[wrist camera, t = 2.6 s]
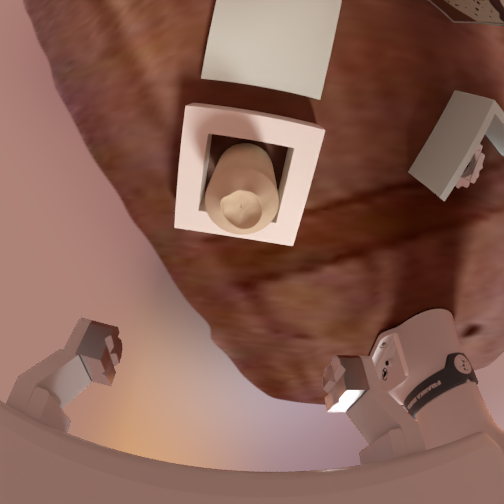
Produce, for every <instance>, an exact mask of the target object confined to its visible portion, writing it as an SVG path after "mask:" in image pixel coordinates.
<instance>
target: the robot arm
mask: <svg viewBox="0 0 504 504" xmlns="http://www.w3.org/2000/svg"><path fill="white" fill-rule="evenodd" d="M118 335H119V330H118V327H115V326H111V325H108V324H104V323H100V322H96V321H93V320H89V319H86V318H81V319H79V320H78V322H77V324H76V326H75V328H74V330H73V332H72V334H71V335H70V338H69V339H68V342H67V343H66V345H65V348H64V350H63V349H59V350H58V351H56V352H55V353H53V354H52V355H50V356H49V357H47V358H46V359H44V360H42V361H41V362H39V363H38V364H36V365H35V366H33V367H32V368H30V369H29V370H27V371H26V372H24V373H23V374H21V375H20V376H18V378H17V380H16V382H15V384H14V387H13V389H12V391H11V393H10V396H9V398H8V400H7V403H6V404H5V403H4V402H2V401H0V504H504V431H503V430H502V429H501V428H500V427H499V426H498V425H497V424H496V423H495V421H494V419H493V418H492V416H491V414H490V412H489V410H488V408H487V406H486V404H485V402H484V400H483V398H482V395H481V393H480V391H479V389H478V386H477V384H478V380H477V378H476V375H475V373H474V370H473V368H472V366H471V364H470V362H469V360H468V359H467V357H466V356H465V355H464V353H463V350H462V347H461V345H460V342H459V339H458V336H457V332H456V329H455V324H454V320H453V315H452V314H451V312H449V311H448V310H445V309H432V310H428V311H425V312H422V313H420V314H417V315H415V316H414V317H412V318H410V319H408V320H407V321H405V322H404V323H402V324H401V325H399V326H398V327H396V328H393V329H390V330H387V331H385V332H383V333H381V334H380V335H379V336H378V338H377V340H376V342H375V345H374V347H373V349H372V351H371V353H370V356H348V355H336V356H334V357H333V358H332V360H331V363H332V364H331V365H330V366H328V367H327V368H326V369H325V371H324V374H323V382H322V383H323V389H324V390H325V391H326V392H327V393H328V394H327V395H326V397H325V402H326V408H327V412H346V414H347V415H348V417H349V418H350V419H351V421H352V422H353V423H354V425H355V426H356V427H357V428H358V430H359V431H360V433H361V434H362V435H363V437H364V438H365V439H366V441H367V442H368V443H369V446H367V447H366V448H364V449H363V450H361V452H360V453H359V455H360V462H361V465H358V466H351V467H343V468H335V469H326V470H314V471H296V472H249V471H231V470H219V469H210V468H201V467H194V466H187V465H180V464H175V463H169V462H164V461H159V460H154V459H149V458H145V457H141V456H137V455H132V454H129V453H125V452H122V451H117V450H115V449H111V448H108V447H105V446H101V445H98V444H95V443H92V442H89V441H87V440H84V439H81V438H78V437H76V436H73V435H71V434H68V433H67V432H68V429H69V425H70V422H71V421H70V418H69V417H68V416H67V415H66V413H65V412H64V411H63V410H62V408H64V407H65V406H66V405H67V404H68V403H69V402H70V401H71V400H73V399H74V398H75V397H76V396H77V395H78V394H79V393H80V392H82V391H83V390H84V389H85V388H86V387H87V386H88V385H89V384H91V381H93V382H97V383H101V384H104V385H108V386H112V383H113V380H114V377H115V373H116V371H115V369H114V366H115V365H117V364H118V363H119V362H120V359H121V353H122V342H121V340H120V339H119V338H118ZM400 404H401V405H404V406H405V408H406V409H407V410H408V412H407V411H406V410H405V409H404V408H403V407H402V406H401V405H400ZM415 419H416V420H417V421H416V420H415Z"/></svg>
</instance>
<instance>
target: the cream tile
mask: <svg viewBox="0 0 504 504" xmlns="http://www.w3.org/2000/svg"><path fill="white" fill-rule="evenodd" d="M341 2H342V0H216V5H215V9H214V13H213V18H212V23H211V27H210V32H209V37H208V42H207V47H206V52H205V58H204V63H203V69H202V75H201V79H210V80H219V81H227V82H234V83H241V84H248V85H254V86H260V87H265V88H270V89H276V90H280V91H285V92H290V93H294V94H299V95H303V96H307V97H311V98H315V99H319V100H320V98H321V94H322V90H323V85H324V81H325V77H326V72H327V68H328V64H329V59H330V55H331V50H332V45H333V41H334V36H335V31H336V27H337V22H338V17H339V12H340V7H341Z"/></svg>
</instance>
